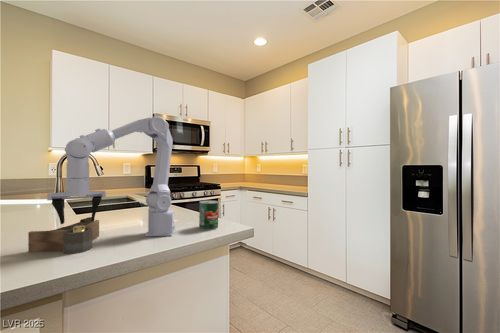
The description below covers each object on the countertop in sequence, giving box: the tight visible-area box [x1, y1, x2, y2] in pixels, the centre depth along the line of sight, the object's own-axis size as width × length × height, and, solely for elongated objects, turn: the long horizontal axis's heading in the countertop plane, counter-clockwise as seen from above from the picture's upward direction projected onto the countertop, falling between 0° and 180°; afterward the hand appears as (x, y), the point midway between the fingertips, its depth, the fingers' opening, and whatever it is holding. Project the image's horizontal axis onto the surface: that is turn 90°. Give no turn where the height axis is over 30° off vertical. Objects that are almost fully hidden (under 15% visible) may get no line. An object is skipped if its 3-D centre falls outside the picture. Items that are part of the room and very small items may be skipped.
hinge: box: [27, 219, 100, 255], centre depth 78 cm, size 17×17×6 cm
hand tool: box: [49, 216, 93, 231], centre depth 91 cm, size 19×4×5 cm, turn 171°
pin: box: [73, 226, 85, 233], centre depth 74 cm, size 3×3×7 cm
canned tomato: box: [198, 199, 219, 231], centre depth 101 cm, size 8×8×11 cm
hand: (78, 221), depth 74 cm, fingers open, 7 cm apart
